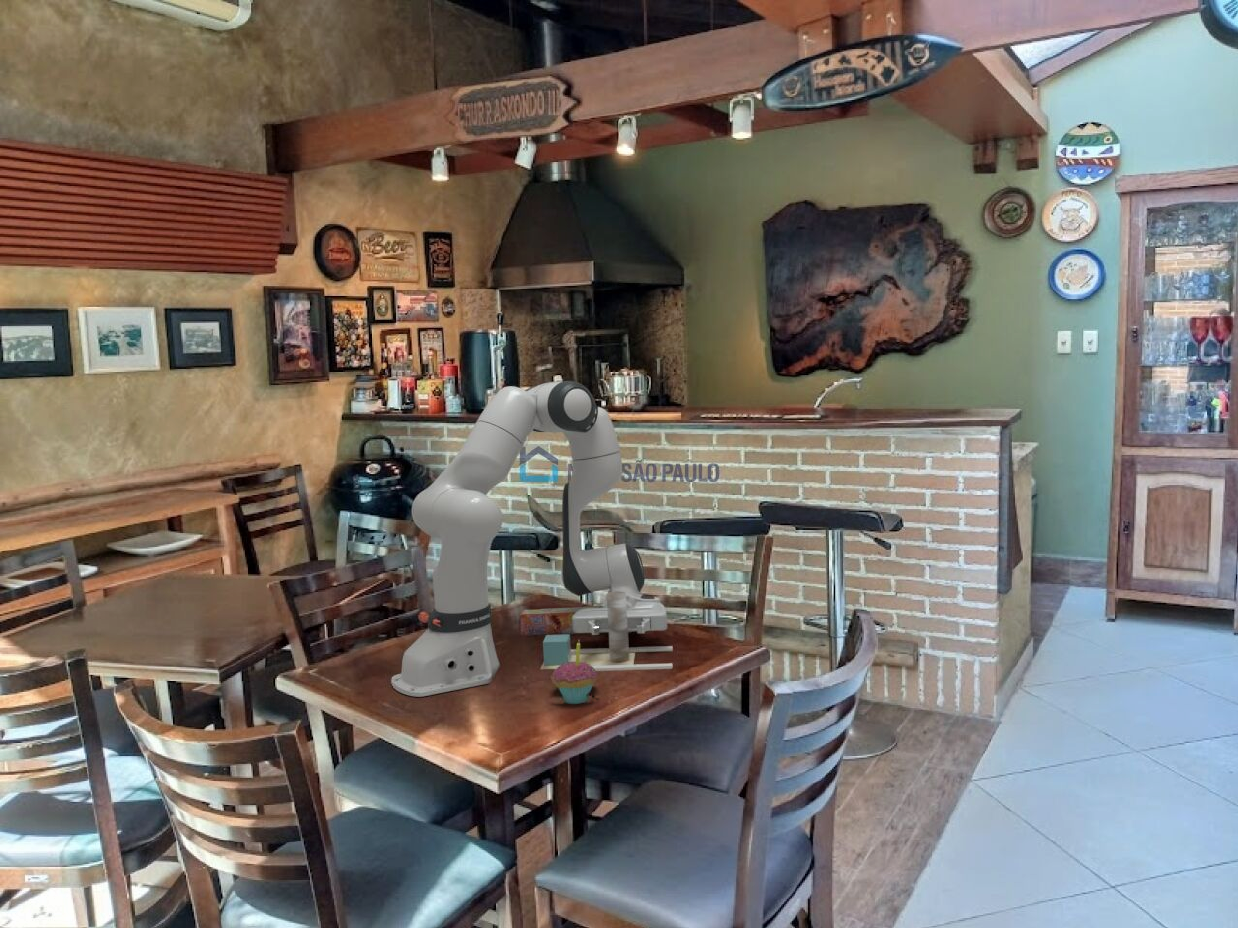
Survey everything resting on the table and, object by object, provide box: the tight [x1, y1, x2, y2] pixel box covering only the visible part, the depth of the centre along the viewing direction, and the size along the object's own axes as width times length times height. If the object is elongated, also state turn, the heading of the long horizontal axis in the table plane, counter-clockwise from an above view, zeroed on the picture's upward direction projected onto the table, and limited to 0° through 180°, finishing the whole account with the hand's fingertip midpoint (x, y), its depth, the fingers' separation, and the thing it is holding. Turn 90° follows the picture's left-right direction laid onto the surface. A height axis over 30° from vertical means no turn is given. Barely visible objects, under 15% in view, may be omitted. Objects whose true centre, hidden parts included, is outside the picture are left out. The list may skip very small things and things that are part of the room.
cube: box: [542, 634, 572, 666], centre depth 190 cm, size 5×5×5 cm
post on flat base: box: [540, 591, 636, 670], centre depth 189 cm, size 19×9×15 cm, turn 86°
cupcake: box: [550, 639, 598, 705], centre depth 171 cm, size 9×8×12 cm
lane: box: [571, 645, 674, 672], centre depth 189 cm, size 23×13×2 cm, turn 86°
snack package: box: [518, 605, 609, 636], centre depth 214 cm, size 21×7×7 cm, turn 84°
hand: (617, 630), depth 187 cm, fingers open, 8 cm apart
